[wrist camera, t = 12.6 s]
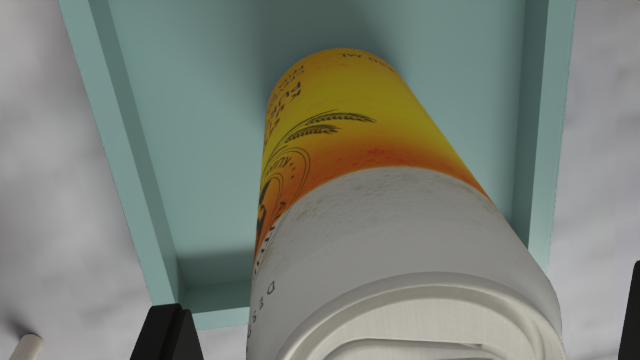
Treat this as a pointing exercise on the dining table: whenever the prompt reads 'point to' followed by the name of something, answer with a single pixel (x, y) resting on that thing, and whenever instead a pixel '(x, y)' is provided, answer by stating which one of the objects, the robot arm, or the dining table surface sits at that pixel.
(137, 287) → the dining table surface
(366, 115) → the beer can
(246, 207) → the tray
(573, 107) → the dining table surface
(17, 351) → the toy
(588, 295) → the dining table surface
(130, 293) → the dining table surface
